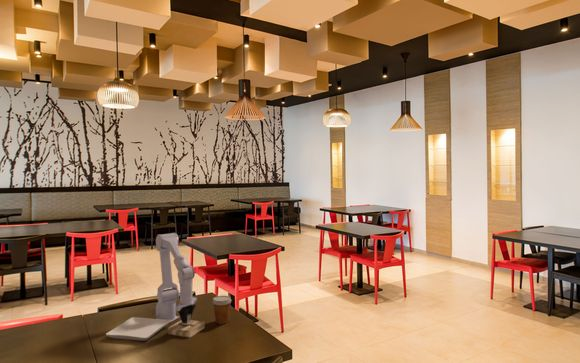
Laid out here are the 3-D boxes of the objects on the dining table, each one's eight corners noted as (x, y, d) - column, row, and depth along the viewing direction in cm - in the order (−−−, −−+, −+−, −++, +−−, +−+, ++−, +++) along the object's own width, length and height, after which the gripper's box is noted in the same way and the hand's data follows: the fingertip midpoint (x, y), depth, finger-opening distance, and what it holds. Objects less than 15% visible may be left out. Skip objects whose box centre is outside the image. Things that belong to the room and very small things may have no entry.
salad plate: (147, 344, 172) (147, 337, 171) (104, 341, 176) (104, 333, 176) (171, 326, 192) (171, 319, 192) (132, 323, 197) (132, 316, 196)
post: (181, 329, 185) (181, 315, 185) (185, 327, 188) (185, 313, 187) (187, 330, 184) (187, 315, 184) (191, 328, 187) (191, 313, 186)
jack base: (168, 334, 182) (168, 326, 182) (183, 324, 193) (183, 317, 193) (190, 337, 178) (189, 330, 178) (204, 328, 189) (204, 320, 189)
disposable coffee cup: (233, 318, 201) (233, 295, 201) (228, 325, 192) (228, 301, 192) (215, 318, 202) (215, 295, 202) (210, 325, 193) (209, 300, 193)
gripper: (184, 298, 177) (184, 327, 177) (202, 289, 191) (202, 317, 191) (171, 296, 180) (171, 325, 180) (189, 288, 193) (189, 315, 193)
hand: (186, 321), depth 186 cm, fingers closed on post, 3 cm apart
